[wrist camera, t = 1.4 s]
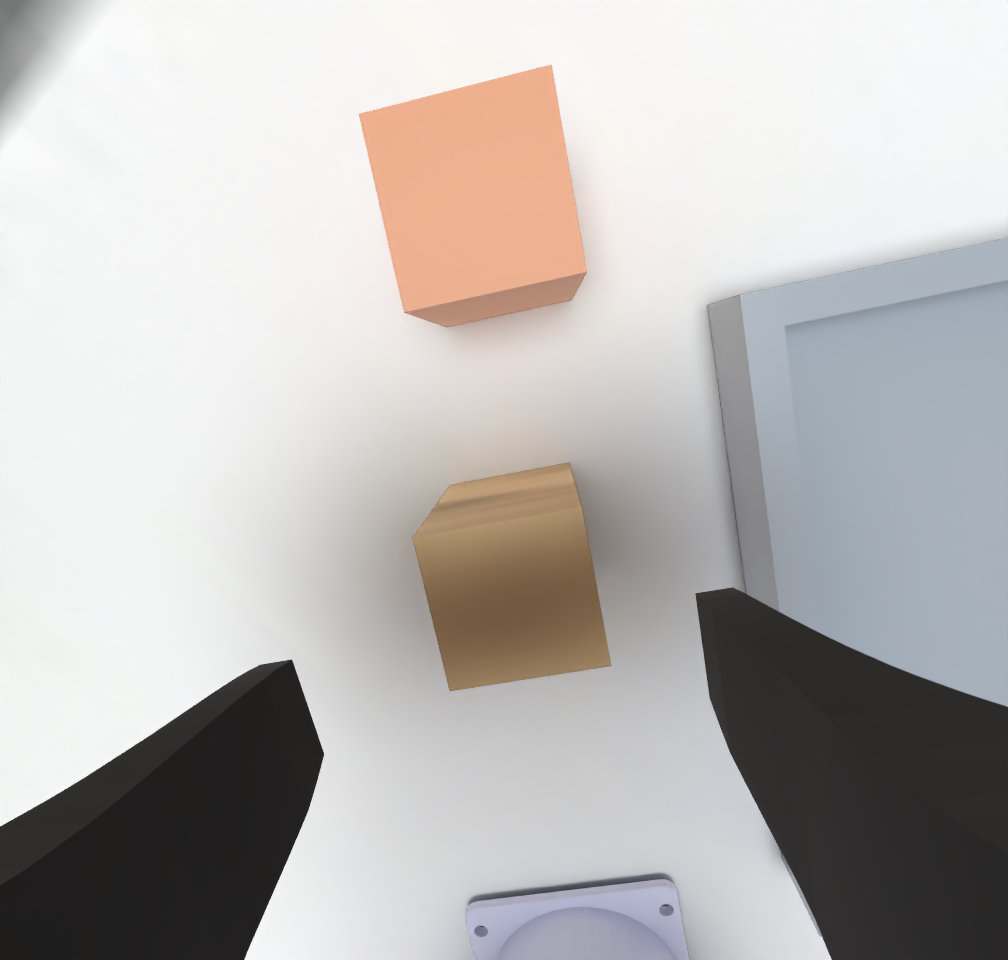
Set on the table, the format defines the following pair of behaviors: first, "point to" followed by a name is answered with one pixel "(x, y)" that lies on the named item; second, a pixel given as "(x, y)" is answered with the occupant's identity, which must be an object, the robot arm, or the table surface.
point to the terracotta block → (477, 199)
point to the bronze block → (511, 579)
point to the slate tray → (878, 459)
